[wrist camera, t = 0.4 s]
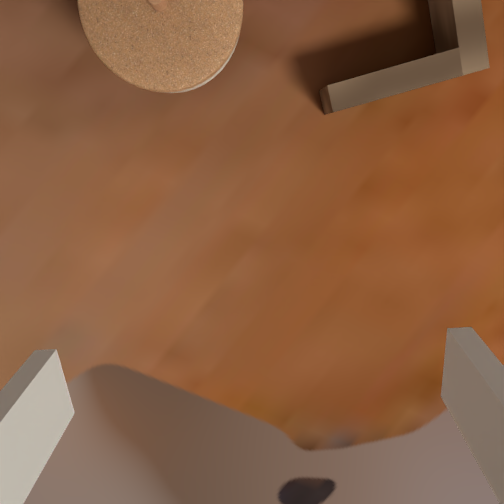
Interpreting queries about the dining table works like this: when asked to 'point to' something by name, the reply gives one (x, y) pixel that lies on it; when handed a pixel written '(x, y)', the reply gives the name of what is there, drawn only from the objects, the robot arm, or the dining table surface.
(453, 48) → the u-shaped bracket
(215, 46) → the lidded jar
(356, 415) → the dining table surface
